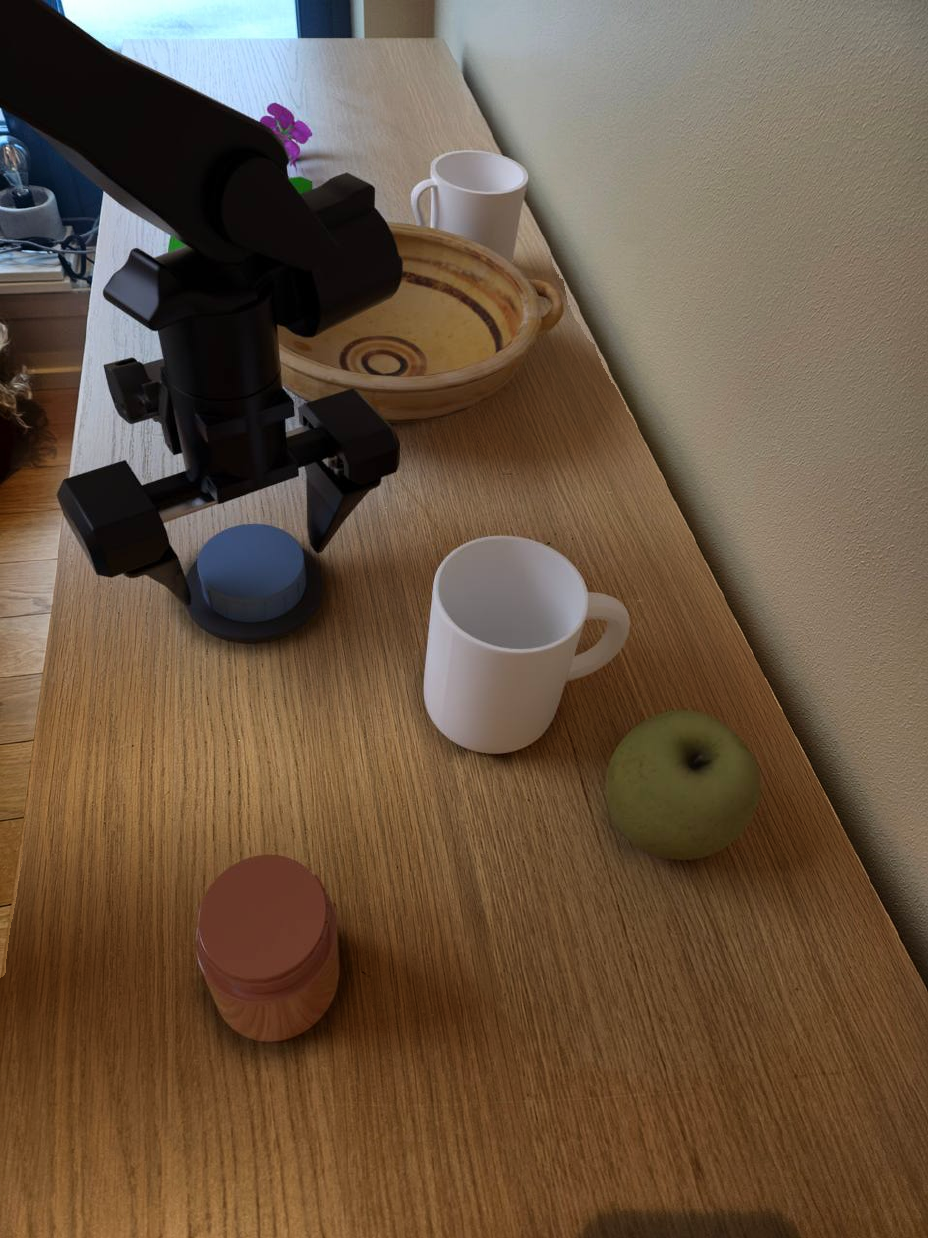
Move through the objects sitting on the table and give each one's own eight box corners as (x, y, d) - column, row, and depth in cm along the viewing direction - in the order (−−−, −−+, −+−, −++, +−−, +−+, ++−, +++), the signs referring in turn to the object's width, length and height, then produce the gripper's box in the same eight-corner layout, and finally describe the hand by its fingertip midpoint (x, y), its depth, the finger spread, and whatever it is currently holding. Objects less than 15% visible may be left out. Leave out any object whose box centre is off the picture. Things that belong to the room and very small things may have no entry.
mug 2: (588, 634, 57) (625, 523, 49) (629, 740, 52) (678, 634, 44) (411, 655, 55) (420, 541, 47) (436, 768, 50) (451, 662, 42)
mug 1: (490, 251, 89) (503, 146, 81) (527, 296, 84) (545, 188, 76) (391, 264, 86) (394, 155, 78) (424, 311, 81) (431, 200, 73)
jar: (247, 1070, 39) (226, 1021, 33) (192, 956, 42) (164, 892, 36) (362, 994, 42) (362, 935, 35) (303, 892, 44) (294, 821, 38)
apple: (755, 858, 48) (805, 797, 43) (629, 902, 46) (666, 844, 40) (687, 746, 52) (725, 677, 47) (569, 781, 50) (595, 714, 45)
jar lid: (277, 534, 60) (275, 510, 58) (324, 598, 56) (323, 574, 55) (185, 569, 57) (179, 545, 55) (228, 638, 54) (224, 614, 52)
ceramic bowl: (503, 292, 84) (514, 210, 78) (600, 449, 70) (623, 364, 64) (192, 317, 77) (177, 228, 70) (229, 499, 62) (215, 407, 56)
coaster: (220, 664, 53) (218, 658, 53) (162, 571, 57) (160, 565, 57) (348, 608, 57) (348, 602, 56) (284, 525, 61) (284, 519, 61)
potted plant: (194, 351, 80) (249, 206, 104) (348, 275, 75) (368, 142, 99) (100, 228, 72) (184, 102, 96) (267, 134, 67) (311, 27, 91)
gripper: (311, 255, 52) (320, 458, 64) (-16, 332, 44) (64, 546, 56) (410, 351, 46) (400, 552, 58) (58, 458, 38) (129, 665, 50)
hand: (252, 573), depth 56 cm, fingers open, 9 cm apart
